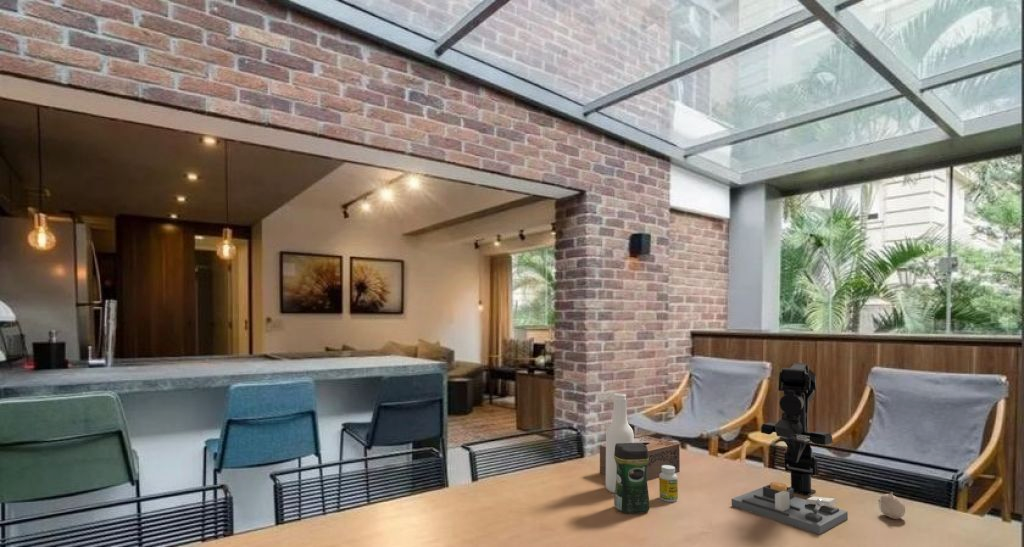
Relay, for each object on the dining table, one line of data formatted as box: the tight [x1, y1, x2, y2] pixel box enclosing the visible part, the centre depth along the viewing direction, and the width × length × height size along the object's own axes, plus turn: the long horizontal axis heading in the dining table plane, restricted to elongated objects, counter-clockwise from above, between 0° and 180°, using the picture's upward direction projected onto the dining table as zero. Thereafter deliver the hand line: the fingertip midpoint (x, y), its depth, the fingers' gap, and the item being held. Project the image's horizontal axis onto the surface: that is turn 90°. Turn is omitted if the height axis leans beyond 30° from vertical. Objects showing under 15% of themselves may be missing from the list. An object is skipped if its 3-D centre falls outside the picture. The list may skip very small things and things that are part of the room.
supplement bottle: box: [658, 465, 679, 503], centre depth 156 cm, size 5×5×10 cm
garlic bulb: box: [877, 491, 906, 520], centre depth 145 cm, size 7×6×8 cm
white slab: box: [806, 496, 837, 507], centre depth 145 cm, size 4×6×1 cm, turn 37°
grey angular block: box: [775, 491, 790, 511], centre depth 144 cm, size 5×2×4 cm, turn 127°
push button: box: [769, 481, 788, 491], centre depth 155 cm, size 4×4×3 cm
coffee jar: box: [613, 443, 651, 514], centre depth 148 cm, size 10×8×19 cm
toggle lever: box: [813, 499, 824, 514], centre depth 137 cm, size 2×2×4 cm
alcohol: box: [605, 392, 635, 494], centre depth 165 cm, size 9×9×30 cm
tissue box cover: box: [599, 435, 681, 482], centre depth 182 cm, size 26×14×10 cm, turn 127°
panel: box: [731, 484, 849, 535], centre depth 147 cm, size 18×24×4 cm
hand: (795, 462), depth 156 cm, fingers closed
